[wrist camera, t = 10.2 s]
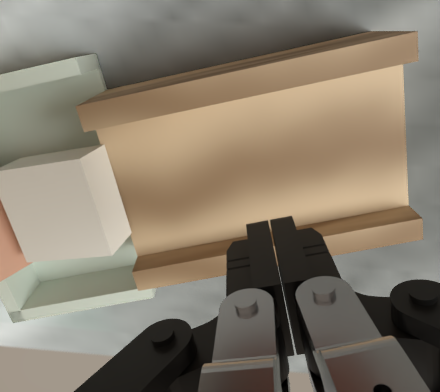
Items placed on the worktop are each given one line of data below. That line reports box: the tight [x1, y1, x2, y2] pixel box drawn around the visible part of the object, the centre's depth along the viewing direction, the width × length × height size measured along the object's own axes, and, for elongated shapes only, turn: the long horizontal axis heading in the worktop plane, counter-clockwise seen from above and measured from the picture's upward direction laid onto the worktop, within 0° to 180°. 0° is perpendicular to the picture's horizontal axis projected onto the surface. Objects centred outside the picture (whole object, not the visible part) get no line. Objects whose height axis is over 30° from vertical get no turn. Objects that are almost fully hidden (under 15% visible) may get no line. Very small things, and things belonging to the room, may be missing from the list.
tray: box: [0, 54, 156, 323], centre depth 24 cm, size 14×9×4 cm, turn 12°
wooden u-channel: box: [75, 31, 423, 291], centre depth 22 cm, size 10×15×6 cm, turn 102°
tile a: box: [0, 144, 132, 262], centre depth 21 cm, size 5×5×2 cm
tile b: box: [0, 200, 33, 282], centre depth 23 cm, size 5×5×2 cm
